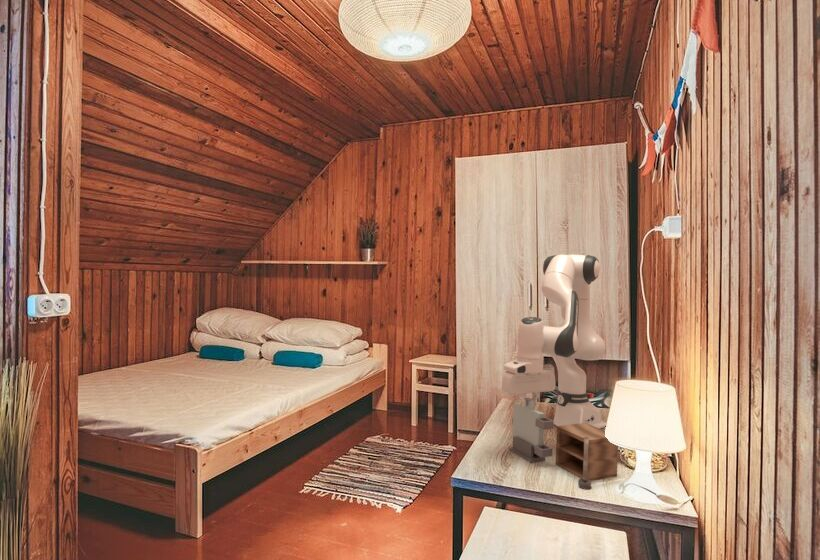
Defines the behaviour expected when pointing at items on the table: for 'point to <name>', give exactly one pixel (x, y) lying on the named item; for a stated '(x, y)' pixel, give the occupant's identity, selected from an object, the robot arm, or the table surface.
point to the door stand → (525, 450)
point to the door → (531, 427)
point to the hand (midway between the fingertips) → (528, 405)
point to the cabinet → (586, 453)
